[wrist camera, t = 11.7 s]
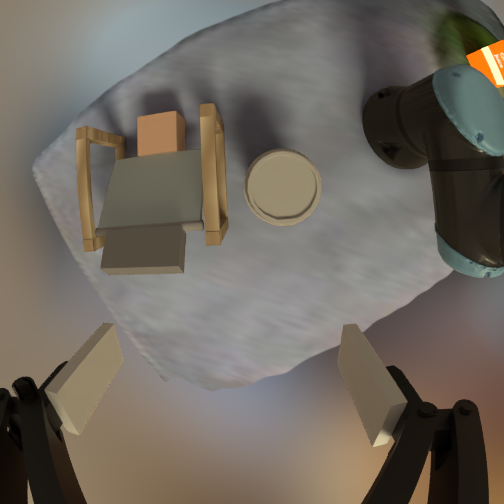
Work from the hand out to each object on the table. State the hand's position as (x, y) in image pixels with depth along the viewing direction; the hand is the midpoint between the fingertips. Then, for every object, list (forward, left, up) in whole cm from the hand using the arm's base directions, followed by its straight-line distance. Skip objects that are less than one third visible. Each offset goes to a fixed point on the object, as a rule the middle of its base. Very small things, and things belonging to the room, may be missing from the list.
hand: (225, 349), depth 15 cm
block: (+11, -14, -29) cm, 34 cm away
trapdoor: (+11, -6, -22) cm, 26 cm away
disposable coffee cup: (-6, -8, -32) cm, 33 cm away
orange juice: (-58, -39, -32) cm, 77 cm away
